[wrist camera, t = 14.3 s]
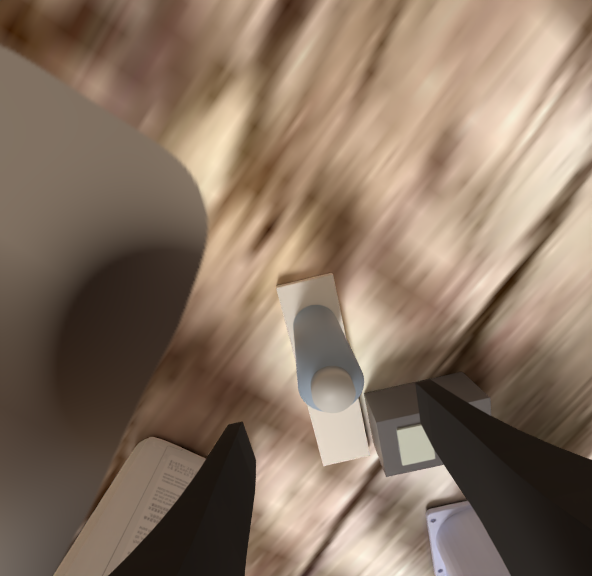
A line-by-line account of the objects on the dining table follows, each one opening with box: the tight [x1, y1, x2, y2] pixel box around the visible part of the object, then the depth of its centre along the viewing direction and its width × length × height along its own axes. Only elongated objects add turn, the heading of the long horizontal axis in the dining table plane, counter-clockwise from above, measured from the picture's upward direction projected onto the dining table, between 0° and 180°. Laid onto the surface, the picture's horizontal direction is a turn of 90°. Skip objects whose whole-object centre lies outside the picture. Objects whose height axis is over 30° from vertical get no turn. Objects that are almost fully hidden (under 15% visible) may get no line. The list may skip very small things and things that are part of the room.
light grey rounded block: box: [53, 437, 206, 576], centre depth 18 cm, size 10×4×12 cm, turn 58°
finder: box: [364, 372, 491, 477], centre depth 22 cm, size 5×8×4 cm, turn 103°
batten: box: [276, 273, 370, 466], centre depth 22 cm, size 16×4×1 cm, turn 13°
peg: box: [293, 305, 364, 413], centre depth 17 cm, size 3×3×8 cm
